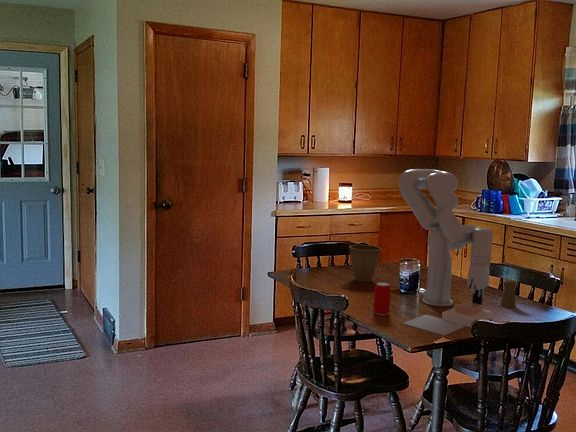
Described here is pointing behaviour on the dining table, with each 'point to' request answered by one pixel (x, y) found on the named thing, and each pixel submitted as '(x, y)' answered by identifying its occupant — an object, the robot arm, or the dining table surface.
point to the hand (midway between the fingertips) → (476, 305)
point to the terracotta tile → (468, 308)
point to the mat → (434, 325)
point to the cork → (508, 294)
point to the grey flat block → (465, 316)
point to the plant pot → (364, 261)
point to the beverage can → (382, 299)
